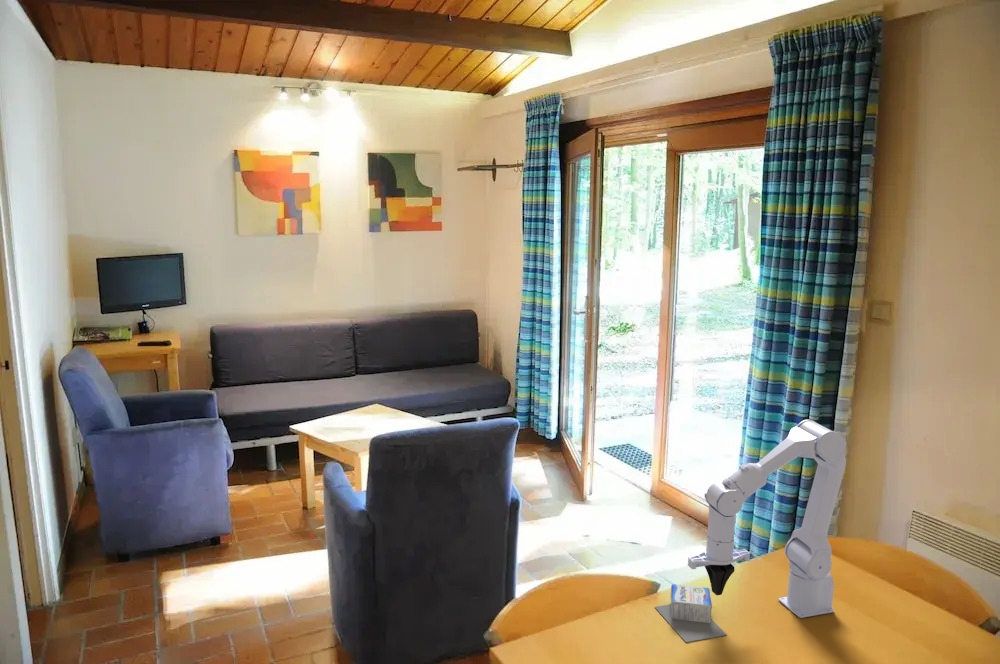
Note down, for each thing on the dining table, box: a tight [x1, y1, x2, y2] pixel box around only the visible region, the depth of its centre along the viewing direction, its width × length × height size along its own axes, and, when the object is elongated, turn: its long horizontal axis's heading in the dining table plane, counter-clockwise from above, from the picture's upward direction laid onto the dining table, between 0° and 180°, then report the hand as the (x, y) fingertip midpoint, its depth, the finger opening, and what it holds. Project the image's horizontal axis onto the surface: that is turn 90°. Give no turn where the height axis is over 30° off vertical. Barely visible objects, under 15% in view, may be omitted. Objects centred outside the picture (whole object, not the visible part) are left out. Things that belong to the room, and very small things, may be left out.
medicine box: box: [670, 583, 713, 623], centre depth 168 cm, size 8×4×9 cm
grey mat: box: [654, 603, 728, 644], centre depth 165 cm, size 10×14×1 cm
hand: (716, 592), depth 165 cm, fingers closed
